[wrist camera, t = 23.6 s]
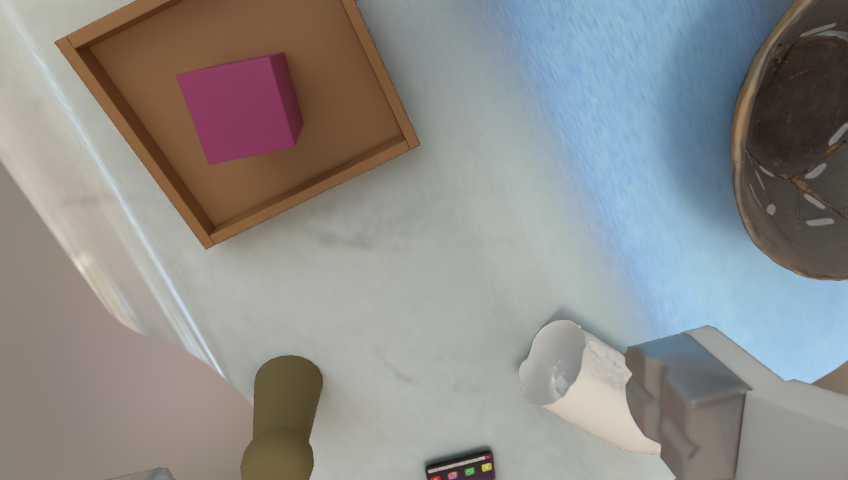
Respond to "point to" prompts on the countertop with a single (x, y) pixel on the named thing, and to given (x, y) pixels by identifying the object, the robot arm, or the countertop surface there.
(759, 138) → the bowl
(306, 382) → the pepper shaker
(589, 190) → the countertop surface
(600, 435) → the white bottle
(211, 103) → the pink block
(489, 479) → the smartphone
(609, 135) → the countertop surface
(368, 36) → the tray
